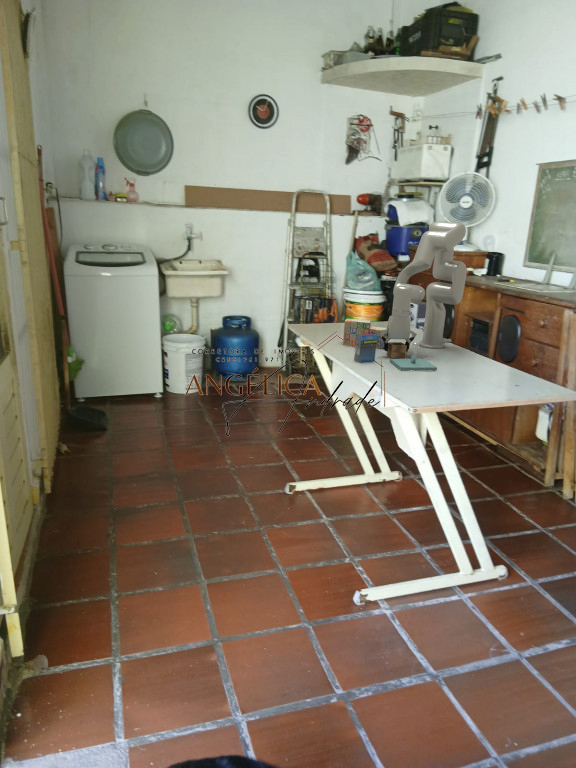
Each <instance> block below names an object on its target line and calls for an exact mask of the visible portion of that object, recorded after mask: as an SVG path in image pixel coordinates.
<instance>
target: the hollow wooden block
mask: <svg viewBox="0 0 576 768" xmlns="http://www.w3.org/2000/svg"><path fill="white" fill-rule="evenodd" d="M388 343H389V345H388V351H386V356H388V358H390V357H391V358H405V359H406V358H407V357H406V356H407V352H406V348H407V346H406V345H405V342H401V341H397V342H396V341H391V342H390V341H388ZM391 358H390V359H391Z"/></svg>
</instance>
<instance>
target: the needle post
mask: <svg viewBox="0 0 576 768" xmlns="http://www.w3.org/2000/svg"><path fill="white" fill-rule="evenodd" d="M418 346H419V343H417V342H414V343H412V347H411V348H412V350H411V358H410V359H411V363H413V364H415V363H416V359H417V354H418V353H417V352H418Z"/></svg>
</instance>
